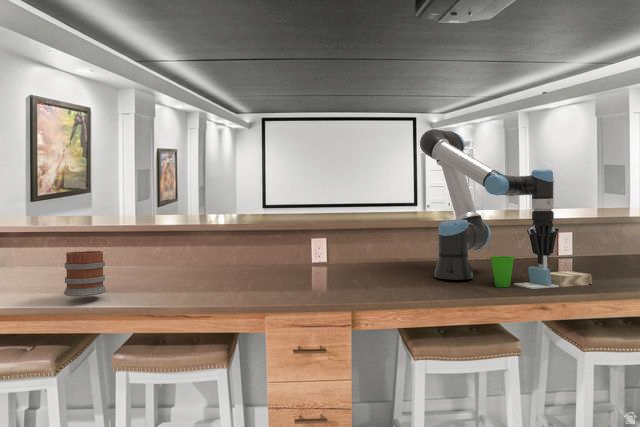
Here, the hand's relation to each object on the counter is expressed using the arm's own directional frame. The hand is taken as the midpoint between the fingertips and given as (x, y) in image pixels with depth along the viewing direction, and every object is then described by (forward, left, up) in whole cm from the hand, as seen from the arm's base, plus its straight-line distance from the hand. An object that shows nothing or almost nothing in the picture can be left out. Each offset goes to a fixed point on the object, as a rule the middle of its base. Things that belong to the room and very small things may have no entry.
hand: (543, 272), depth 188 cm
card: (-1, 0, -1) cm, 1 cm away
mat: (-3, 0, -5) cm, 6 cm away
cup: (-15, +4, -5) cm, 17 cm away
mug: (-163, +46, -5) cm, 170 cm away
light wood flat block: (+11, 0, -5) cm, 12 cm away
